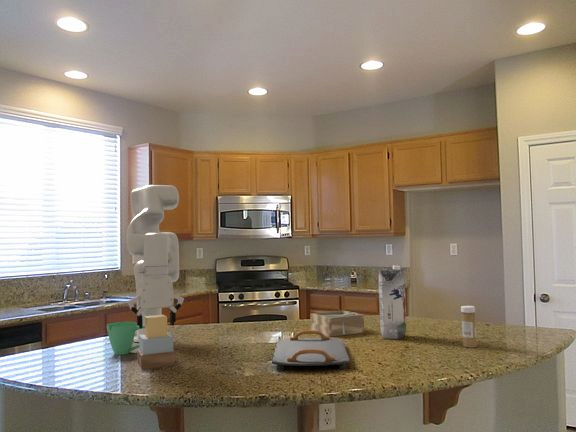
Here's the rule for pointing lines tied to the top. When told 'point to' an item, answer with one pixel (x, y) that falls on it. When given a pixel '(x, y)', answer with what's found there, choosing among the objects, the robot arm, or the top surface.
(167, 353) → the walnut block
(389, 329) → the juice carton
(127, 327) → the mug
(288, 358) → the serving board
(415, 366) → the top surface
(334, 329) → the coaster caddy
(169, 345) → the slate block
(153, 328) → the ochre cube
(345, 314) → the right angle wall
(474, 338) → the sprinkles bottle
